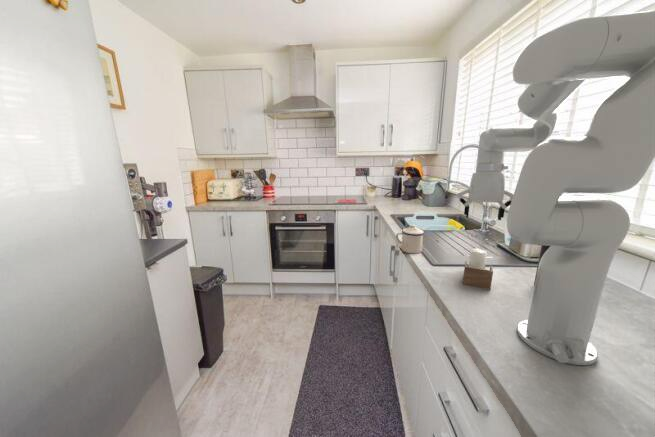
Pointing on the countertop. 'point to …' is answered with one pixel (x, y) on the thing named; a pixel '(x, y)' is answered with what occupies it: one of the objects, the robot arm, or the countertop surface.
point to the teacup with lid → (411, 239)
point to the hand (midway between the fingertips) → (482, 218)
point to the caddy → (477, 277)
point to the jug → (477, 258)
